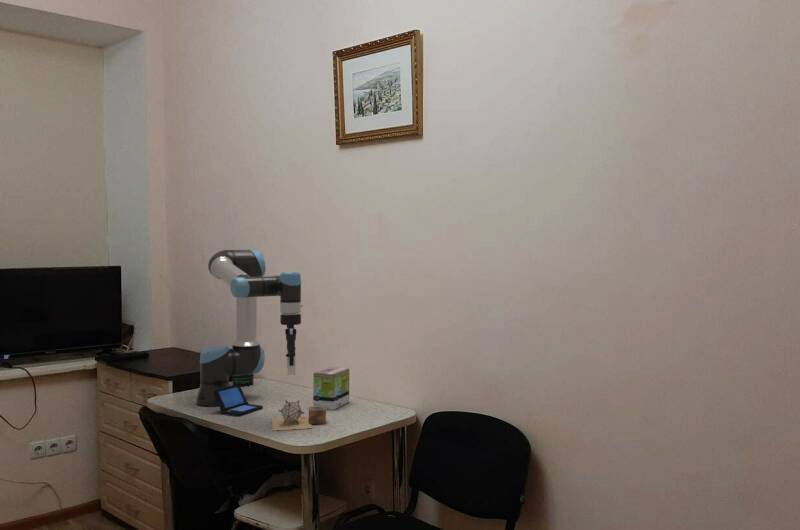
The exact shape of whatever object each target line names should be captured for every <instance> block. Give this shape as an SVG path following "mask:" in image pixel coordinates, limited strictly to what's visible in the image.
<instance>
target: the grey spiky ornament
mask: <svg viewBox="0 0 800 530" xmlns="http://www.w3.org/2000/svg"><path fill="white" fill-rule="evenodd" d="M284 401H285V404H284V405H283V407H282V408H281V409H278V412H279V413H281V416H282V417H283V418H284V420H285V421H284V423H285V422H296V423H298V422H297V420H298V419H299V417H300V416H302V414H303V415H304V414H305V412H304V411H302V408H301V405H300V400H298V401H288V400H284Z"/></svg>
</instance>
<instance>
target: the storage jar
mask: <svg viewBox="0 0 800 530" xmlns="http://www.w3.org/2000/svg"><path fill="white" fill-rule="evenodd" d="M234 385H239V386H240V387H241V388H245V387H244V386H248V387H251V386H250V385H252V386H254V374H250V375H249V374H246V375H237V376H232V386H234Z"/></svg>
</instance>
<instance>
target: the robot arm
mask: <svg viewBox="0 0 800 530" xmlns="http://www.w3.org/2000/svg"><path fill="white" fill-rule="evenodd" d="M207 267H208V271H209V273H210V274H211V275H212V276H213V277H214V278H216V279H218V280H221V281H223V282H224V283H225V284H227V285H228V286H230V293H231V295H232V296H233V297H234V298H236V299H235V302H236V303H235V304H236V305H235V307H236V310H235V311H236V312H235V314H236V315H235V317H236V318H235V320H236V321H235V341H233V342H232V348H230V347H229V346H228V345H218V346H217V345H216V346H212V347H208V348H205V349H203V350H202V351H201V352H200V355H199V357H200V358H199V366H200V367H199V368H200V370H199V373H200V374H199V375H200V379H199V381H200V382H199V383H200V384H199V385H200V386H199V389H198V392H197V396H196V398H195V400H196V402H195V404H196V403H197V404H199V405H198V406H200V405H205V406H204V407H219V406H218V402H217V400H216V398H215V396H214V391H215V390H218V389H222V388H226V387H230V386H231V385H230V377H233V376H237V375H246V374H249V375H250V374H253V375H255V374H258V373H260V372H261V371H262V370H263V368H264V365H265V359H266V356H265V349H264V348H263V346H261V344H260V342H259V340H257V308H258V307H257V303H258V301H257V299H258V297H259V298H261V297H262V298H263V297H279V298H280V300H279V301H280V302H279V310H280V311H279V313H280V317H279V318H280V320H279V321H280V325H283V326H286V328H285V329H284V332H285V333H284V334H285V340H286V354H285V357H286V368H287V375H288V376H289V375H292V376H293V375H296V349H297V347H296V341H297V328H295V325H296V326H297V325H301V323H302V314H301V312H302V310H301V309H302V308H303V304H302V300H301V299H302V280H301V278H302V277H301V276H302V275H301V272H299V271H281V273H280V275H273V276H272V275H271V276H269V275H268V276H265V274H266V273H265V272H266V262H265V258H264V256H263V253H262V252H261V251H259V250H257V249H223V250H220V251H217V252H215V253H214V254H213V255H212V256H211V257H210V259H209V260H208V265H207ZM197 404H196V405H197Z"/></svg>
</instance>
